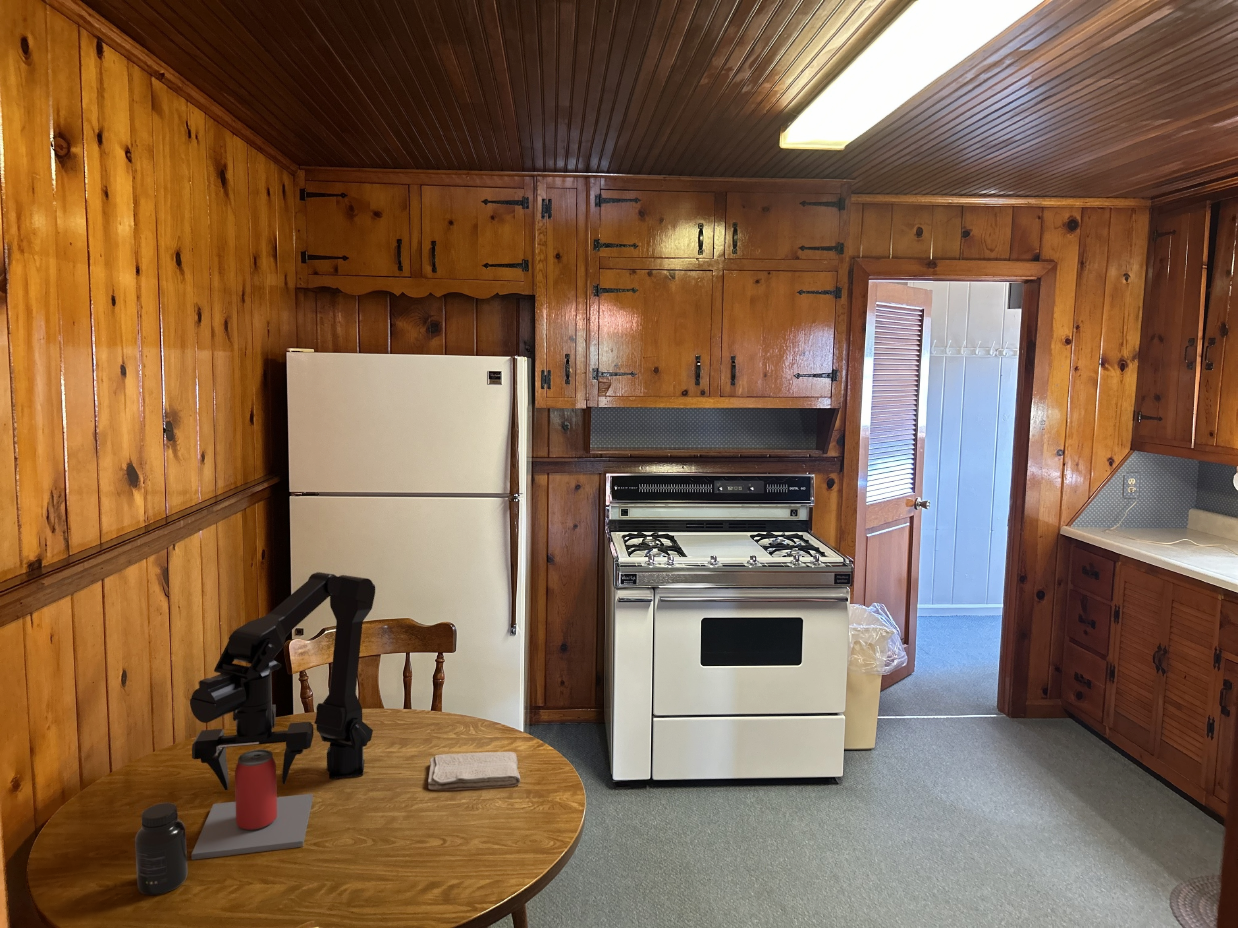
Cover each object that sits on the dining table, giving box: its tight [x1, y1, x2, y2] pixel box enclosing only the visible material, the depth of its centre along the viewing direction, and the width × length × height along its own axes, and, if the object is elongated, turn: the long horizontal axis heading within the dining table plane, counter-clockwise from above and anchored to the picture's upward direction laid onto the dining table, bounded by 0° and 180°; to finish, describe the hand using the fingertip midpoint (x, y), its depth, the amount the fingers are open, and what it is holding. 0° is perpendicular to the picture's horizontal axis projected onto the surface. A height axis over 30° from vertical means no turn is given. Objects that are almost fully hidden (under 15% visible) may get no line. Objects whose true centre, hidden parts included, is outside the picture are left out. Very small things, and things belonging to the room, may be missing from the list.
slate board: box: [191, 793, 314, 861], centre depth 141 cm, size 17×16×1 cm
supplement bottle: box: [134, 802, 188, 896], centre depth 124 cm, size 7×7×12 cm
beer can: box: [234, 748, 278, 830], centre depth 140 cm, size 7×7×12 cm
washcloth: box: [427, 751, 521, 791], centre depth 162 cm, size 12×18×3 cm, turn 101°
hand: (255, 786), depth 140 cm, fingers open, 9 cm apart
